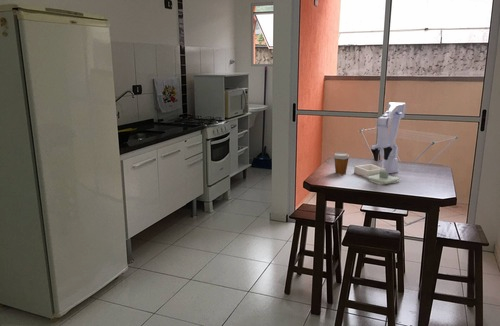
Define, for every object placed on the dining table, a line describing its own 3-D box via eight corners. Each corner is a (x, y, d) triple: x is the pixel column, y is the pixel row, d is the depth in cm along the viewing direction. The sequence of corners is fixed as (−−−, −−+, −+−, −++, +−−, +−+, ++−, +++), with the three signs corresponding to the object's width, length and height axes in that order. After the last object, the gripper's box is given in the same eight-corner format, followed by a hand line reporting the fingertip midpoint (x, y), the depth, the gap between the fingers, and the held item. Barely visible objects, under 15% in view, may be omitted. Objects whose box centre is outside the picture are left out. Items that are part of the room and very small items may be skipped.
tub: (370, 171, 263) (371, 164, 262) (385, 176, 252) (385, 168, 250) (354, 173, 258) (354, 166, 257) (367, 178, 246) (368, 171, 245)
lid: (380, 176, 250) (381, 167, 248) (399, 181, 239) (400, 172, 238) (367, 179, 242) (367, 171, 241) (386, 184, 232) (386, 175, 231)
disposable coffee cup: (348, 175, 253) (349, 156, 250) (332, 174, 255) (333, 155, 252) (348, 171, 262) (349, 152, 259) (332, 170, 264) (333, 152, 261)
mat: (387, 177, 248) (387, 177, 248) (399, 182, 239) (399, 181, 239) (368, 180, 242) (368, 179, 242) (379, 184, 233) (379, 184, 233)
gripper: (387, 135, 250) (385, 157, 253) (368, 137, 244) (366, 159, 247) (395, 137, 244) (393, 160, 247) (376, 139, 238) (374, 162, 241)
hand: (380, 160), depth 247 cm, fingers open, 7 cm apart
